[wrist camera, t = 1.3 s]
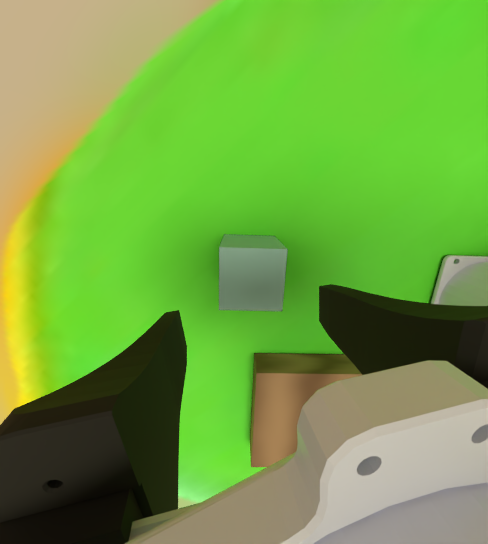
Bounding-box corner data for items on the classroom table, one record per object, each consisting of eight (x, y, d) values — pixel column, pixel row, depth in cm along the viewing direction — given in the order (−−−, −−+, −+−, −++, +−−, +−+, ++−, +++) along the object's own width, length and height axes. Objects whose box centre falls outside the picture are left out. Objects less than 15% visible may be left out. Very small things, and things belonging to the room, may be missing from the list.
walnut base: (367, 354, 25) (384, 374, 22) (349, 440, 29) (361, 467, 26) (254, 353, 25) (256, 373, 22) (249, 439, 28) (251, 466, 26)
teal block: (274, 235, 22) (287, 249, 16) (271, 283, 23) (282, 311, 17) (224, 234, 21) (219, 247, 16) (223, 281, 23) (218, 309, 17)
